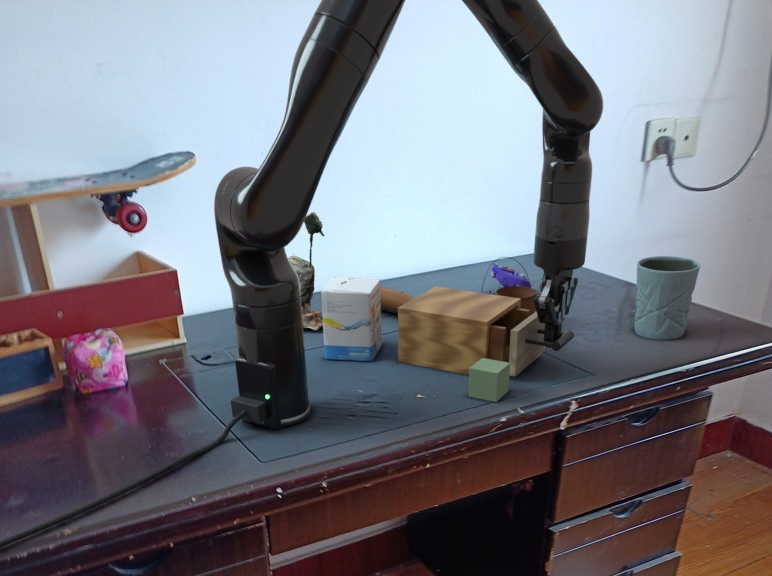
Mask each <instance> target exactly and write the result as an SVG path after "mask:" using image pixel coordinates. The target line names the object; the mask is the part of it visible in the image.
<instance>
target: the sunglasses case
mask: <svg viewBox="0 0 772 576" xmlns="http://www.w3.org/2000/svg"><path fill="white" fill-rule="evenodd" d="M380 297H381V311H386V312H390V313H393V314H395V315H396V314H397V315H398V307H400V306H402V305H404V304H405V303H407V302H409V301H411V300H413V299H414V298H415V297H414V296H413V295H412V294H411V293H410V292H404V291H403V290H396V289H392V288H389V287H385V286H382V285H380Z"/></svg>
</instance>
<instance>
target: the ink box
mask: <svg viewBox="0 0 772 576" xmlns="http://www.w3.org/2000/svg"><path fill="white" fill-rule="evenodd" d="M380 286H381V278H373V277H358V276H357V277H356V276H355V277H354V276H345V277H333V278H332V279H331V280H330V281H329V282H328V283H327V284H326V285H325V286H324V287H323V288H322V289H321V290H320V293H321V309H322V310H321V314H322V317H323V326H322V332H323V350H324V359H325V360H340V361H357V362H373V361H374V359H375V358H376V356H377V354H378V353H379V350H380V348H381V347H382V345H383V341H382V339H383V338H382V309H381V297H380Z"/></svg>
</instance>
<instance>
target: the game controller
mask: <svg viewBox="0 0 772 576" xmlns="http://www.w3.org/2000/svg"><path fill="white" fill-rule="evenodd" d="M502 258H508V259H511V260H513V261H515V262H516V263H518V264H519V265H520V266H521V267H522V268H523V270H524V272H525V273H519V272H516V270H514V268H513V267H510V266H504V265H502V264H499V263H498V262H496V261H498V260H499V259H502ZM495 262H496V263H495ZM491 266H492V268H491ZM490 268H491V271H490V277H491V278H494V279H496V280H497V282H498V283H499V284H500V285H501V286H502V287H508V286H523V287H529V288H532V283H531V282H530V280H529V276H528V272H527V270H526V268H524V266H523V265H522V264H521V263H520V262H519V261H518V260H516V259H515V258H512V257H510V256H501V257H497V259H495V260H494V261H492V263H491V264H490V265H489V267H488V269H487V272H486V273H485V276H484V279H483V282H482V286H481V293H484V292H483V289H484V284H485V280H486V277H487V275H488V272H489V270H490ZM491 293H492V290H488V291H487V292H486V293H485V294H491Z"/></svg>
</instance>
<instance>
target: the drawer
mask: <svg viewBox="0 0 772 576" xmlns="http://www.w3.org/2000/svg"><path fill="white" fill-rule="evenodd" d="M544 332H545V324H544V323H539V319H538V316H537V312H535V313H533V314H532V315H531V316H530V310H527V309H521V308H513V309H512V310H511V311H509V312H508V313H506V314H505V315H504V316H502V317H501V318H499V319H498V320H496V321H495V322H494V323H492V324H491V325H489V341H488V359H491V360H496V361H502V362H508V363H510V374H509V377H516V376H518V375H519V374H520V373H521V372H522V371H524V370H525V369H526V368H527V367H528V366H529V365H530V364H532V363H533V362H534V361H535V360H536V359H538V358H539V357H540V356H541V355H543V353H544V351H545V350H544V349H545V346H547V347H546V348H548V347H552V348H551V350H552V351H553V352H559V351H560V350H562V348H564V347H565V346H566V345H567V344H568V343H570V342H571V341H572V340H574V337H575V333H574V332H573V331H572V330H566V331H565V332H563V331H561V336H560V337H559V338H558V339H557V340H556V341H554V342H547V341H544Z"/></svg>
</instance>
